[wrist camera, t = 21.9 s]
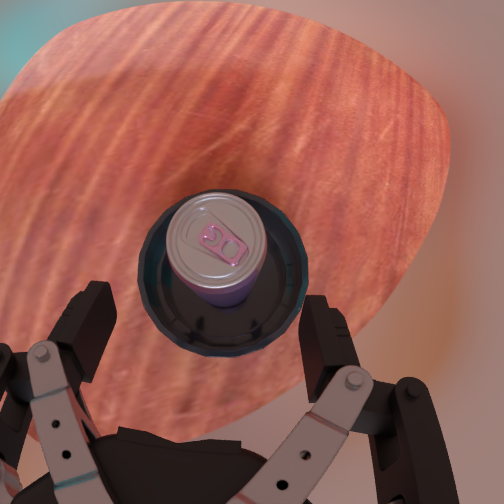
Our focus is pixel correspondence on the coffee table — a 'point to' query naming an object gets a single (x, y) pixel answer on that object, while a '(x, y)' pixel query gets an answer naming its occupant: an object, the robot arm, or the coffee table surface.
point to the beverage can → (217, 247)
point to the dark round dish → (232, 318)
